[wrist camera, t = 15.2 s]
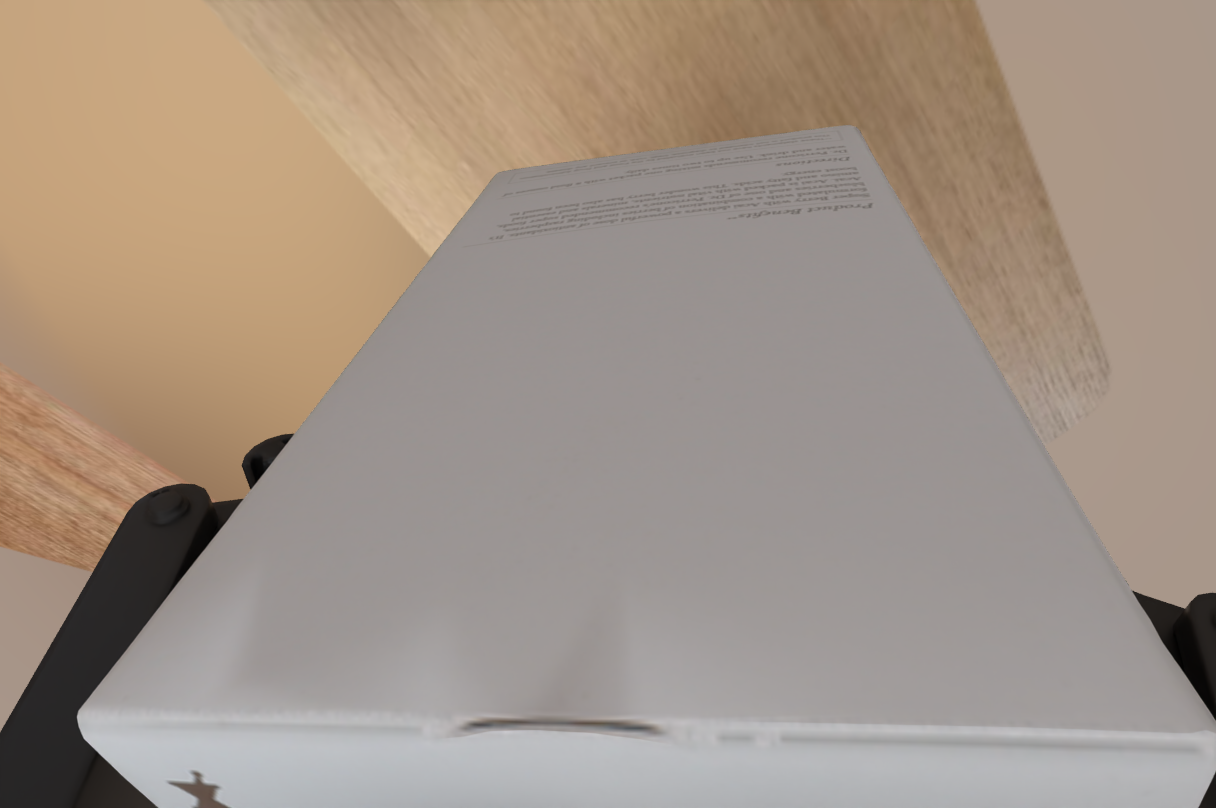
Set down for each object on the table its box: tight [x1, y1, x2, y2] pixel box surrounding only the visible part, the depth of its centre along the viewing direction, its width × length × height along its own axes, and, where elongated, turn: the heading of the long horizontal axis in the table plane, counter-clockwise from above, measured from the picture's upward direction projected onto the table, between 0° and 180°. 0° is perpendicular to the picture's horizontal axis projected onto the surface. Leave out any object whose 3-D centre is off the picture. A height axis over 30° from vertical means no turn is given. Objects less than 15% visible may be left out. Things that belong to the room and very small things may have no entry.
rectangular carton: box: [77, 125, 1216, 808], centre depth 14 cm, size 9×9×15 cm
